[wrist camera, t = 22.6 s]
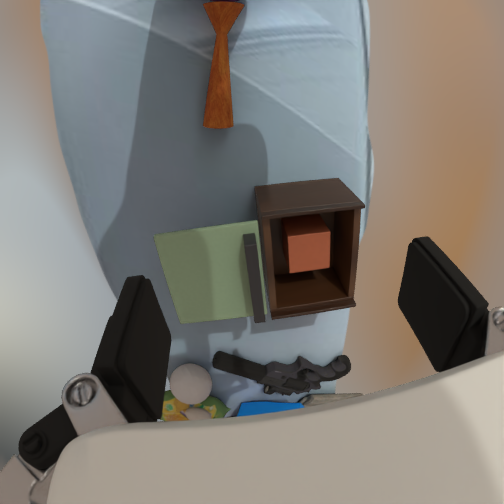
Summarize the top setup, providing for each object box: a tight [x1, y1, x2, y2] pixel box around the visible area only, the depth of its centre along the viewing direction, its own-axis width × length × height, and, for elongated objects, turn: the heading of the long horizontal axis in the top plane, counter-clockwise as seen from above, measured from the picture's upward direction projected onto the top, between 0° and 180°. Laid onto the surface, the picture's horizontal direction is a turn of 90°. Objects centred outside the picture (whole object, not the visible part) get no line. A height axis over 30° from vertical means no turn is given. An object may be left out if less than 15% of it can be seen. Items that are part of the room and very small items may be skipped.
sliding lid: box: [154, 220, 267, 324], centre depth 33 cm, size 12×11×3 cm
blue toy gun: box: [237, 401, 304, 417], centre depth 63 cm, size 29×20×6 cm
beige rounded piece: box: [170, 363, 212, 420], centre depth 51 cm, size 8×10×12 cm
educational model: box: [160, 390, 230, 421], centre depth 57 cm, size 14×8×15 cm
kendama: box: [203, 0, 244, 129], centre depth 26 cm, size 6×6×20 cm
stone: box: [298, 393, 362, 407], centre depth 63 cm, size 18×3×15 cm
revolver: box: [212, 351, 351, 396], centre depth 54 cm, size 3×25×15 cm
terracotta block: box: [281, 214, 330, 273], centre depth 39 cm, size 5×5×5 cm
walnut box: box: [255, 178, 365, 320], centre depth 38 cm, size 14×11×9 cm
